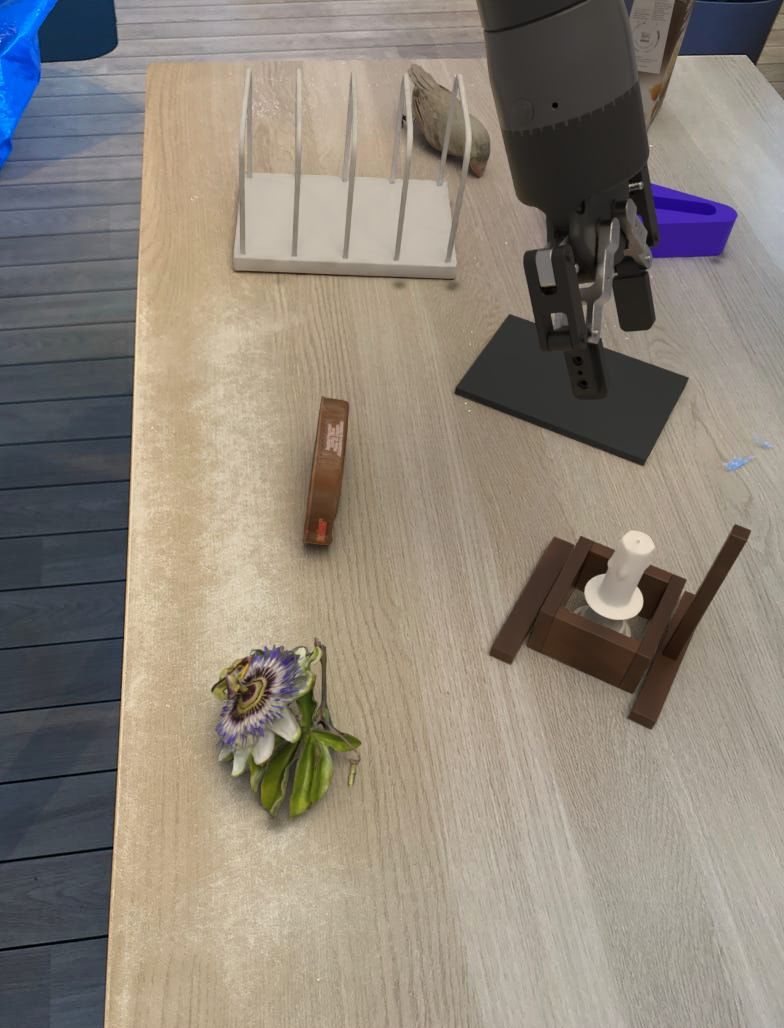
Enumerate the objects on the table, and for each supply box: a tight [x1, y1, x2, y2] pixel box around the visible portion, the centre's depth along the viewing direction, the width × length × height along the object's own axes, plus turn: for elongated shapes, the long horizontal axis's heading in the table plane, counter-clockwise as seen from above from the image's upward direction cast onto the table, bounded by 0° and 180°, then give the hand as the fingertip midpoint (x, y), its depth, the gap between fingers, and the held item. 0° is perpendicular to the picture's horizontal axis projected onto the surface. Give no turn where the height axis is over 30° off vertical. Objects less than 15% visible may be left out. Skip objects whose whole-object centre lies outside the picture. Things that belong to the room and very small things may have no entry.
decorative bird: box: [401, 63, 491, 178], centre depth 125 cm, size 5×16×8 cm, turn 33°
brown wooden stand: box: [488, 523, 752, 730], centre depth 77 cm, size 14×14×16 cm
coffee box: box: [628, 0, 696, 131], centre depth 128 cm, size 9×6×16 cm
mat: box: [454, 313, 690, 466], centre depth 101 cm, size 20×14×1 cm
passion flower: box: [210, 636, 362, 822], centre depth 73 cm, size 11×11×12 cm
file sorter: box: [232, 67, 472, 280], centre depth 110 cm, size 25×17×16 cm
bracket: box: [637, 182, 738, 259], centre depth 113 cm, size 18×11×12 cm, turn 78°
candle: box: [572, 529, 656, 638], centre depth 79 cm, size 5×5×12 cm
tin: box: [302, 395, 350, 546], centre depth 88 cm, size 15×3×8 cm, turn 175°
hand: (616, 361), depth 64 cm, fingers open, 8 cm apart
